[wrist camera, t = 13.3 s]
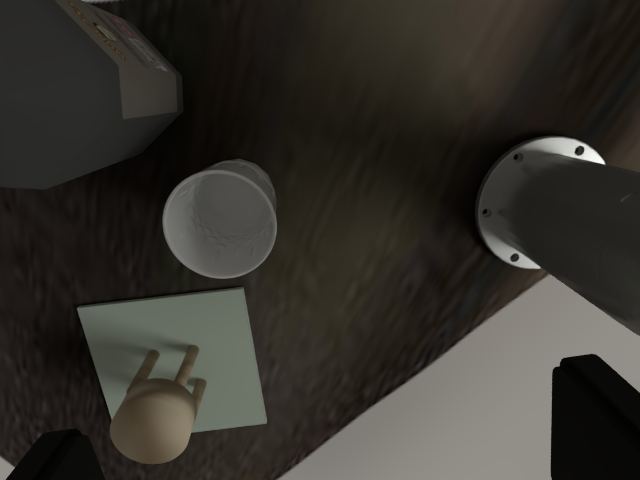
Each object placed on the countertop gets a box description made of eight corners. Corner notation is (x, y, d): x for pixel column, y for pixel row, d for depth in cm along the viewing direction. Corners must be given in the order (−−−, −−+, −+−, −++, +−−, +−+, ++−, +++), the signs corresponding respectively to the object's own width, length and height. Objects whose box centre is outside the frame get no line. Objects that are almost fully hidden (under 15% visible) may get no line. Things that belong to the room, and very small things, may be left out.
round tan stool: (203, 337, 44) (180, 396, 35) (214, 391, 46) (196, 459, 37) (139, 345, 44) (100, 406, 35) (153, 398, 46) (120, 468, 37)
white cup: (230, 252, 42) (210, 298, 32) (176, 184, 40) (138, 212, 30) (298, 206, 41) (298, 240, 31) (247, 134, 38) (230, 146, 29)
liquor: (117, 4, 35) (-689, -402, 6) (201, 94, 37) (-108, 92, 9) (43, 85, 36) (-863, 50, 8) (129, 167, 39) (-332, 364, 10)
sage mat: (243, 286, 43) (242, 288, 42) (266, 420, 48) (266, 423, 47) (79, 305, 43) (76, 308, 42) (120, 437, 48) (118, 441, 47)
